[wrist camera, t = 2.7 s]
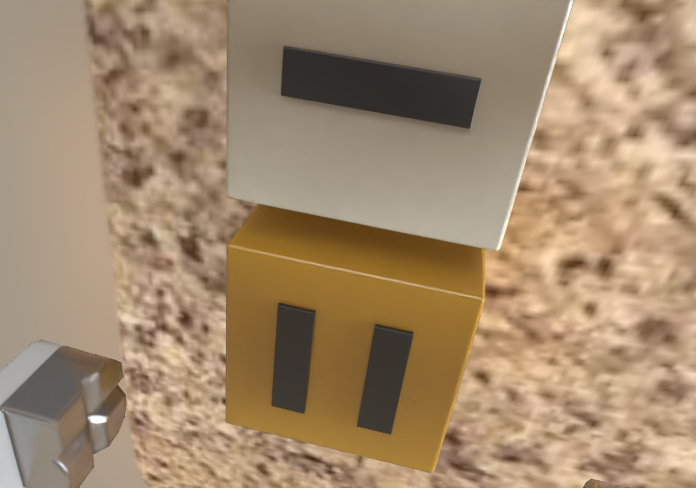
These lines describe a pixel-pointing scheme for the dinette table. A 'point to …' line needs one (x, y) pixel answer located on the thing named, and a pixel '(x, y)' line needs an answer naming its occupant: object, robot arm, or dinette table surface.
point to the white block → (389, 109)
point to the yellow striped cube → (348, 333)
